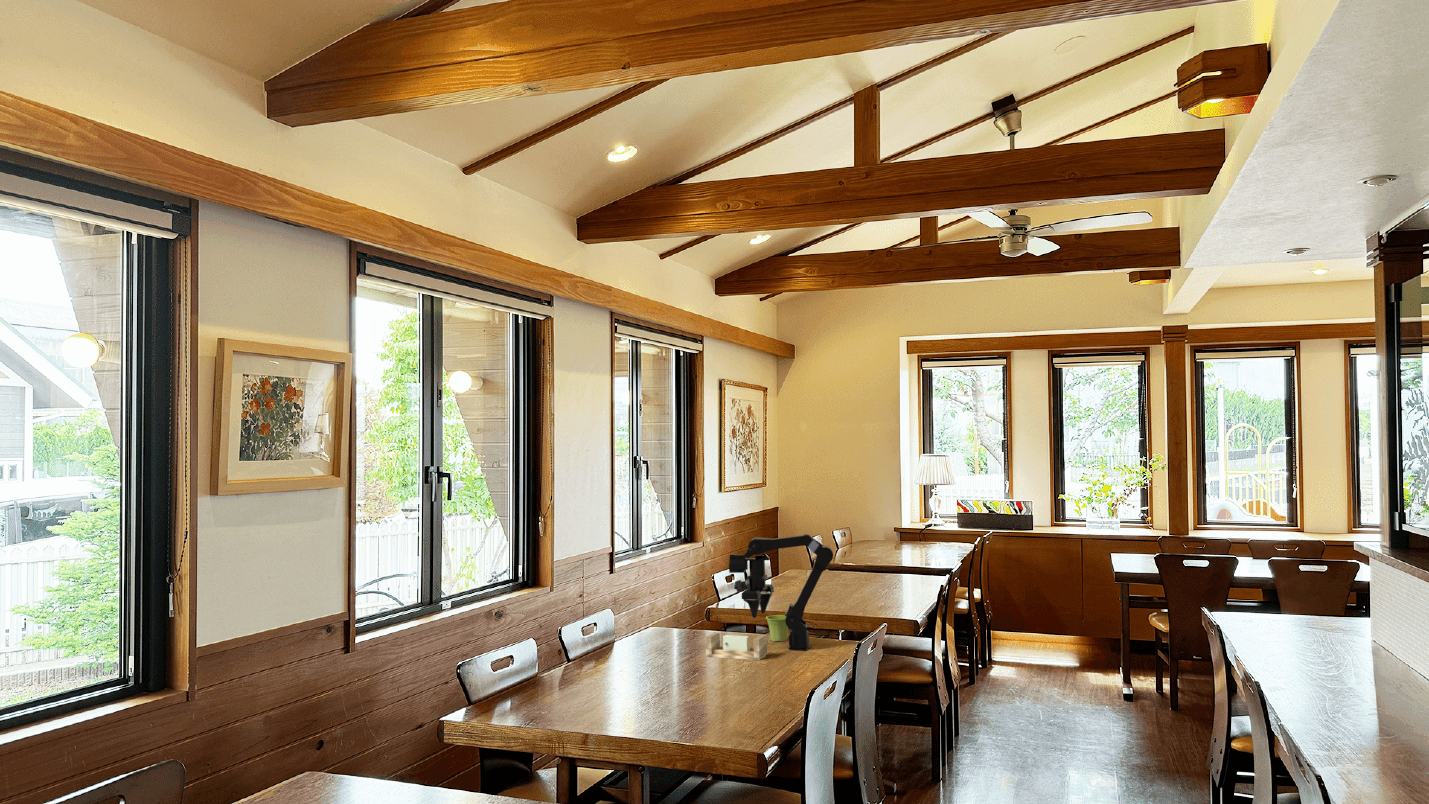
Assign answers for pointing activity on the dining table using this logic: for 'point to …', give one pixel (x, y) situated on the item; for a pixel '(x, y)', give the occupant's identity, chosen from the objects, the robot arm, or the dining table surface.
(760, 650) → the wooden u-shaped holder
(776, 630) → the plant pot
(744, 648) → the pale green rectangular block
